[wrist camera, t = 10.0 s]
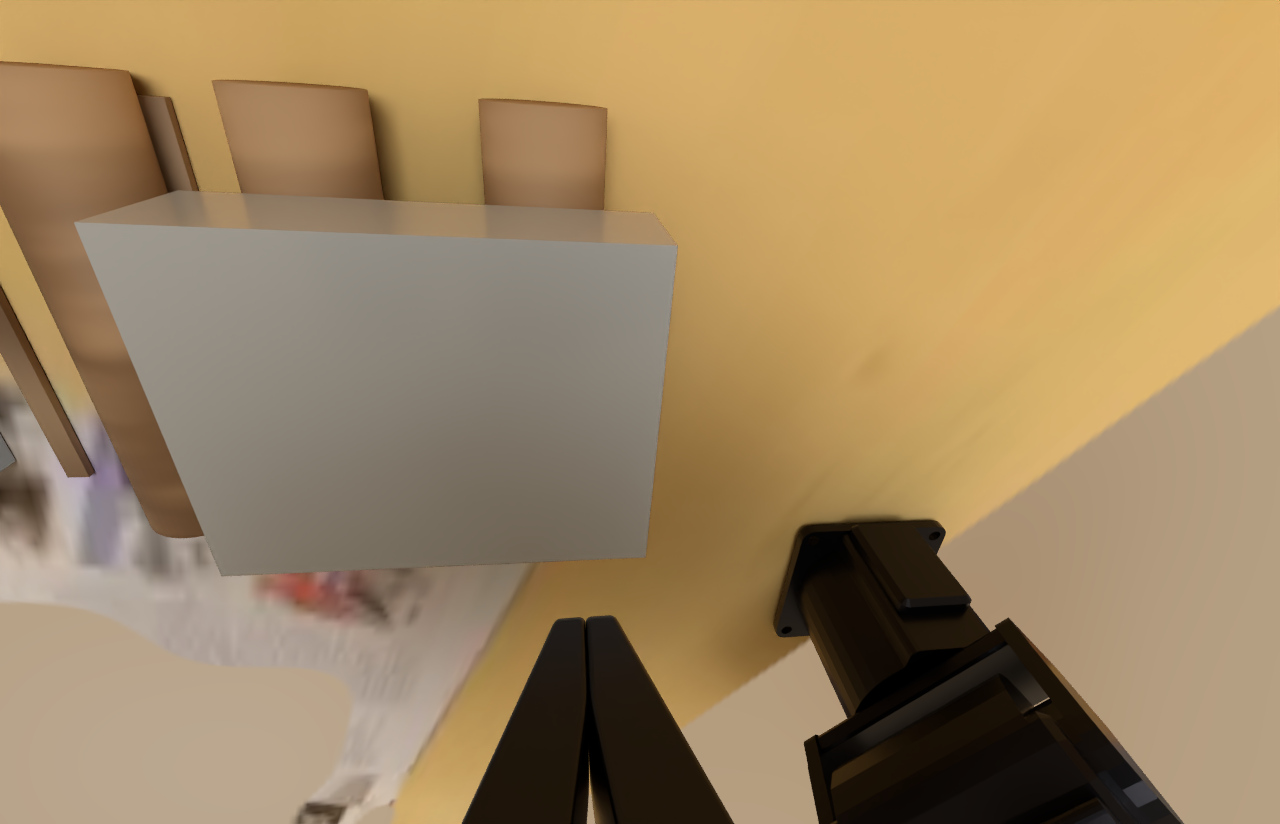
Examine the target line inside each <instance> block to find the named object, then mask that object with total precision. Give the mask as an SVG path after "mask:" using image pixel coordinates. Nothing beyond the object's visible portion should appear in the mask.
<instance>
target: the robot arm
mask: <svg viewBox="0 0 1280 824" xmlns="http://www.w3.org/2000/svg"><path fill="white" fill-rule="evenodd" d="M945 534H946V531H945V529H944V528H943V527H942V526H941V524H940V523H939V522H937V521H912V522H886V523H859V524H833V525H811V526H807V527H805V528H803V529H802V530H801V531H800V532H799V534H798V537H797V541H796V545H795V548H794V552H793V555H792V559H791V563H790V566H789V570H788V573H787V577H786V580H785V584H784V588H783V591H782V595H781V598H780V602H779V606H778V609H777V613H776V616H775V620H774V623H773V626H774V629H775V631H776V634H777V635H778V636H780V637H796V636H810V638H811V640H812V642H813V644H814V646H815V648H816V651H817V653H818V655H819V657H820V659H821V661H822V664H823V666H824V668H825V670H826V672H827V675H828V677H829V679H830V681H831V683H832V685H833V688H834V690H835V692H836V694H837V696H838V699H839V701H840V703H841V705H842V707H843V709H844V712H845V714H846V716H847V718H848V719H846V720H844V721H843V722H841V723H839V724H838V725H836V726H834V727H833V728H831V729H829V730H828V731H827V732H825V733H823V734H821V735H820V736H818V735H814V736H813V737H811V738H810V739H808V740H806V741H805V742H804V747H805V751H806V756H807V762H808V770H809V776H810V781H811V785H812V790H813V796H814V800H815V806H816V811H817V816H818V821H819V824H1184V823H1183V822H1182V820H1181V819H1180V818H1179V817H1178V815H1177V814H1176V813H1175V812H1174V810H1173V809H1172V808H1171V807H1170V805H1169V804H1168V803H1167V802H1166V800H1165V799H1164V798H1163V797H1162V795H1161V794H1160V793H1159V792H1158V790H1157V789H1156V788H1155V787H1154V785H1153V784H1152V783H1151V781H1150V780H1149V779H1148V778H1147V776H1146V775H1145V774H1144V773H1143V771H1142V770H1141V769H1140V768H1139V766H1138V765H1137V764H1136V763H1135V761H1134V760H1133V759H1132V758H1131V756H1130V755H1129V754H1128V753H1127V751H1126V750H1125V749H1124V748H1123V746H1122V745H1121V744H1120V743H1119V741H1118V740H1117V739H1116V737H1115V736H1114V735H1113V734H1112V733H1111V731H1110V730H1109V729H1108V728H1107V726H1106V725H1105V724H1104V723H1103V722H1102V720H1101V719H1100V718H1099V717H1098V716H1097V715H1096V713H1095V712H1094V711H1093V710H1092V709H1091V708H1090V707H1089V705H1088V704H1087V703H1086V702H1085V701H1084V700H1083V698H1082V697H1081V696H1080V695H1079V694H1078V693H1077V691H1076V690H1075V689H1074V688H1073V687H1072V686H1071V684H1070V683H1069V682H1068V681H1067V680H1066V679H1065V678H1064V676H1063V675H1062V674H1061V673H1060V672H1059V671H1058V670H1057V668H1056V667H1055V666H1054V665H1053V664H1052V663H1051V662H1050V661H1049V660H1048V659H1047V658H1046V657H1045V656H1044V654H1043V653H1042V652H1041V651H1040V650H1039V649H1038V648H1037V647H1036V646H1035V645H1034V644H1033V643H1032V642H1031V641H1030V640H1029V639H1028V638H1027V637H1026V636H1025V634H1024V633H1023V632H1022V631H1021V630H1020V629H1019V628H1018V627H1017V626H1016V625H1015V624H1014V623H1013V622H1012V621H1011V620H1010V619H1009V618H1007V619H1005V620H1004V621H1002V622H1001V623H999V624H997V625H995V627H996V629H995V630H993V631H991V632H990V631H989V629H988V628H987V627H986V625H985V624H984V623H983V622H982V620H981V619H980V618H979V617H978V615H977V614H976V613H975V612H974V611H973V609H972V608H971V606H970V603H971V598H970V596H969V595H968V594H967V593H966V591H965V590H964V589H963V587H962V586H961V585H960V584H959V582H958V581H957V580H956V579H955V577H954V576H953V575H952V574H951V572H950V571H949V570H948V569H947V567H946V566H945V565H944V564H943V562H942V561H941V560H940V559H939V557H938V556H937V552H938V550H939V548H940V546H941V543H942V541H943V539H944V537H945ZM811 537H812V538H811ZM809 538H810V539H809ZM1048 697H1049V698H1050V699H1048V700H1046V701H1044V702H1043V703H1041V704H1039V705H1037V706H1035V707H1034V705H1035V704H1037V703H1039V702H1041V701H1043V700H1045V699H1046V698H1048ZM589 768H590V785H591V794H592V801H593V810H594V817H595V823H596V824H734V823H733V821H732V819H731V818H730V816H729V814H728V812H727V811H726V809H725V807H724V805H723V804H722V802H721V800H720V798H719V797H718V795H717V793H716V791H715V790H714V788H713V786H712V785H711V783H710V781H709V780H708V777H707V776H706V774H705V772H704V770H703V769H702V767H701V765H700V763H699V762H698V760H697V758H696V756H695V755H694V753H693V751H692V750H691V748H690V746H689V744H688V743H687V741H686V739H685V737H684V736H683V734H682V732H681V730H680V728H679V727H678V725H677V723H676V721H675V720H674V718H673V716H672V714H671V713H670V711H669V709H668V708H667V706H666V704H665V702H664V701H663V699H662V697H661V695H660V694H659V692H658V690H657V688H656V687H655V685H654V683H653V681H652V680H651V678H650V676H649V674H648V673H647V671H646V669H645V667H644V666H643V664H642V662H641V660H640V659H639V657H638V655H637V653H636V652H635V650H634V648H633V646H632V645H631V643H630V641H629V639H628V638H627V636H626V634H625V632H624V631H623V629H622V627H621V625H620V624H619V622H618V620H617V619H616V618H615V617H614V616H611V615H608V616H593V617H589V618H588V619H587V620H586V628H585V620H584V619H583V618H580V617H577V618H562V619H558V620H556V621H555V623H554V624H553V626H552V628H551V630H550V632H549V635H548V637H547V639H546V641H545V643H544V645H543V648H542V650H541V652H540V654H539V656H538V658H537V661H536V663H535V665H534V667H533V669H532V672H531V674H530V676H529V678H528V680H527V682H526V685H525V687H524V689H523V691H522V693H521V695H520V698H519V700H518V702H517V704H516V706H515V709H514V711H513V713H512V715H511V717H510V719H509V722H508V724H507V726H506V728H505V730H504V732H503V735H502V737H501V739H500V741H499V743H498V746H497V748H496V750H495V752H494V754H493V756H492V759H491V761H490V763H489V765H488V767H487V769H486V772H485V774H484V776H483V778H482V780H481V782H480V785H479V787H478V789H477V791H476V793H475V796H474V798H473V800H472V802H471V804H470V806H469V809H468V811H467V813H466V815H465V817H464V819H463V822H462V824H587V812H588V796H589Z"/></svg>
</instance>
